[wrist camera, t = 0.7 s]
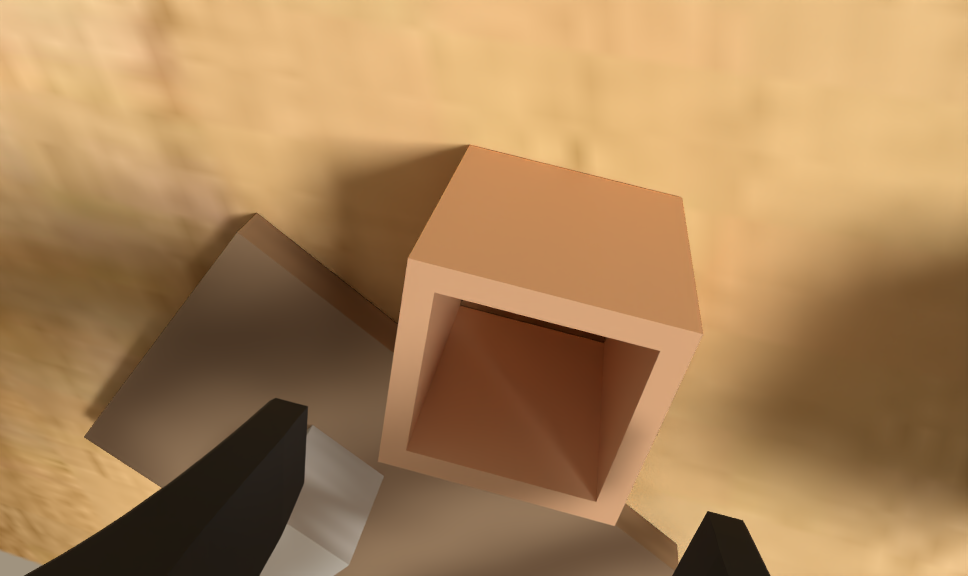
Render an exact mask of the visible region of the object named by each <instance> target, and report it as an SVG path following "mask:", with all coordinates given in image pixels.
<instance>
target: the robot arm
mask: <svg viewBox="0 0 968 576" xmlns="http://www.w3.org/2000/svg"><path fill="white" fill-rule="evenodd" d="M307 418H308V406H305V405H301V404H298V403H294V402H290V401H286V400H282V399H278V398H274V399H272V400H270V401H269V402H268V403H266V404H265V405H264V406H263V407H262V408H261V409H260V410H258V411H257V412H256V413H255V414H254V415H253V416H252V417H250V418H249V419H248V420H247V421H246V422H245V423H244V424H242V425H241V426H240V427H239V428H238V429H236V430H235V431H234V432H233V433H232V434H231V435H229V436H228V437H227V438H226V439H224V440H223V441H222V442H221V443H220V444H218V445H217V446H216V447H215V448H214V449H212V450H211V451H210V452H209V453H207V454H206V455H205V456H203V457H202V458H201V459H200V460H198V461H197V462H196V463H194V464H193V465H192V466H191V467H189V468H188V469H187V470H186V471H184V472H183V473H182V474H180V475H179V476H178V477H176V478H175V479H174V480H173V481H171V482H170V483H168V484H167V485H166V486H164V487H163V488H161V489H160V490H159V491H157V492H156V493H154V494H153V495H152V496H150V497H149V498H147V499H146V500H145V501H143V502H142V503H140V504H139V505H138V506H136V507H135V508H133V509H132V510H131V511H129V512H128V513H126V514H125V515H123V516H122V517H120V518H119V519H117V520H116V521H114V522H113V523H111V524H110V525H108V526H107V527H105V528H104V529H102V530H100V531H99V532H97V533H96V534H94V535H93V536H91V537H89V538H88V539H86V540H85V541H83V542H81V543H80V544H78V545H76V546H75V547H73V548H71V549H70V550H68V551H67V552H65V553H63V554H62V555H60V556H58V557H56V558H55V559H53V560H51V561H49V562H48V563H46V564H44V565H42V566H40V567H39V568H37V569H35V570H33V571H32V572H30V573H28V574H26V575H25V576H260V574H261V572H262V570H263V568H264V567H265V565H266V563H267V561H268V560H269V558H270V556H271V554H272V552H273V551H274V549H275V547H276V545H277V543H278V542H279V540H280V538H281V536H282V534H283V532H284V530H285V527H286V525H287V523H288V520H289V518H290V516H291V514H292V511H293V509H294V506H295V504H296V502H297V499H298V497H299V495H300V492H301V490H302V487H303V485H304V479H305V459H306V438H307ZM672 576H770V574H769V572H768V570H767V568H766V566H765V564H764V562H763V560H762V558H761V556H760V553H759V551H758V549H757V547H756V545H755V543H754V541H753V539H752V537H751V535H750V533H749V531H748V529H747V527H746V525H745V523H744V522H743V520H739V519H736V518H732V517H728V516H724V515H720V514H717V513H713V512H709V511H707V513H706V515H705V517H704V519H703V521H702V522H701V524H700V526H699V528H698V530H697V531H696V533H695V535H694V537H693V539H692V540H691V542H690V544H689V546H688V548H687V550H686V551H685V553H684V555H683V557H682V559H681V560H680V562H679V564H678V566H677V568H676V569H675V571H674V573H673V575H672Z"/></svg>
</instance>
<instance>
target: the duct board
mask: <svg viewBox="0 0 968 576" xmlns="http://www.w3.org/2000/svg"><path fill="white" fill-rule="evenodd" d="M397 329H398V324H397V323H395V322H394V321H393V320H392V319H390V318H389V317H388V316H387V315H385V314H384V313H383V312H381V311H380V310H379V309H378V308H376V307H375V306H374V305H373V304H371V303H370V302H369V301H368V300H366V299H365V298H364V297H362V296H361V295H360V294H359V293H357V292H356V291H355V290H354V289H352V288H351V287H350V286H349V285H347V284H346V283H345V282H343V281H342V280H341V279H340V278H338V277H337V276H336V275H335V274H333V273H332V272H331V271H329V270H328V269H327V268H326V267H324V266H323V265H322V264H321V263H319V262H318V261H317V260H316V259H314V258H313V257H312V256H310V255H309V254H308V253H307V252H305V251H304V250H303V249H302V248H300V247H299V246H298V245H297V244H295V243H294V242H293V241H291V240H290V239H289V238H288V237H286V236H285V235H284V234H283V233H281V232H280V231H279V230H278V229H276V228H275V227H274V226H272V225H271V224H270V223H269V222H267V221H266V220H265V219H264V218H262V217H261V216H260V215H258V214H256V215H255V216H253V217H252V218H251V219H250V220H249V221H248V222H247V223H246V224H245V225H244V226H243V227H242V228H241V229H240V230H239V231H238V232H237V233H236V235H235V236H234V237H233V239H232V240H231V241H230V243H229V244H228V245H227V247H226V248H225V249H224V251H223V252H222V253H221V255H220V256H219V257H218V259H217V260H216V261H215V263H214V264H213V265H212V267H211V268H210V269H209V271H208V272H207V273H206V275H205V276H204V277H203V279H202V280H201V281H200V283H199V284H198V285H197V287H196V288H195V289H194V291H193V292H192V293H191V295H190V296H189V297H188V299H187V300H186V301H185V303H184V304H183V305H182V307H181V308H180V309H179V311H178V312H177V313H176V315H175V316H174V317H173V319H172V320H171V321H170V323H169V324H168V325H167V327H166V328H165V329H164V331H163V332H162V333H161V335H160V336H159V337H158V339H157V340H156V341H155V343H154V344H153V345H152V347H151V348H150V349H149V351H148V352H147V353H146V355H145V356H144V357H143V359H142V360H141V361H140V363H139V364H138V365H137V367H136V368H135V369H134V371H133V372H132V373H131V375H130V376H129V377H128V379H127V380H126V381H125V383H124V384H123V385H122V387H121V388H120V389H119V391H118V392H117V393H116V395H115V396H114V397H113V399H112V400H111V401H110V403H109V404H108V405H107V407H106V408H105V409H104V411H103V412H102V413H101V415H100V416H99V417H98V419H97V420H96V421H95V423H94V424H93V425H92V427H91V428H90V429H89V431H88V432H87V433H86V435H85V436H84V438H86V439H88V440H89V441H91V442H92V443H94V444H95V445H97V446H98V447H100V448H101V449H103V450H104V451H106V452H108V453H109V454H111V455H112V456H114V457H115V458H117V459H118V460H120V461H121V462H123V463H124V464H126V465H128V466H129V467H131V468H132V469H134V470H135V471H137V472H138V473H140V474H141V475H143V476H145V477H146V478H148V479H149V480H151V481H152V482H154V483H155V484H157V485H158V486H160V487H161V488H163V487H164V486H166V485H167V484H168V483H170V482H171V481H173V480H174V479H175V478H176V477H178V476H179V475H180V474H182V473H183V472H184V471H186V470H187V469H188V468H189V467H191V466H192V465H193V464H194V463H196V462H197V461H198V460H200V459H201V458H202V457H203V456H205V455H206V454H207V453H209V452H210V451H211V450H212V449H214V448H215V447H216V446H217V445H218V444H220V443H221V442H222V441H223V440H224V439H226V438H227V437H228V436H229V435H231V434H232V433H233V432H234V431H235V430H236V429H238V428H239V427H240V426H241V425H242V424H244V423H245V422H246V421H247V420H248V419H249V418H250V417H252V416H253V415H254V414H255V413H256V412H257V411H258V410H260V409H261V408H262V407H263V406H264V405H265V404H266V403H268V402H269V401H270V400H272V399H274V398H278V399H282V400H286V401H290V402H294V403H298V404H301V405H305V406H308V418H307V438H306V459H305V479H304V485H303V487H302V490H301V492H300V495H299V497H298V499H297V502H296V504H295V506H294V509H293V511H292V514H291V516H290V518H289V520H288V523H287V525H286V527H285V530H284V532H283V534H282V536H281V538H280V540H279V542H278V543H277V545H276V547H275V549H274V551H273V552H272V554H271V556H270V558H269V560H268V561H267V563H266V565H265V567H264V568H263V570H262V572H261V574H260V576H672V575H673V573H674V571H675V569H676V568H677V566H678V551H677V544H676V543H674V542H673V541H672V540H671V539H669V538H668V537H667V536H665V535H664V534H663V533H662V532H660V531H659V530H658V529H657V528H655V527H654V526H653V525H652V524H650V523H649V522H648V521H646V520H645V519H644V518H643V517H641V516H640V515H639V514H638V513H636V512H635V511H634V510H633V509H631V508H630V507H629V506H627V505H626V504H625V505H624V507H623V509H622V511H621V514H620V516H619V518H618V520H617V522H616V524H615V526H613V525H609V524H605V523H602V522H598V521H594V520H591V519H587V518H583V517H579V516H576V515H572V514H568V513H565V512H561V511H557V510H554V509H550V508H546V507H543V506H539V505H535V504H532V503H528V502H524V501H521V500H517V499H513V498H510V497H506V496H502V495H499V494H495V493H491V492H488V491H484V490H480V489H477V488H473V487H469V486H466V485H462V484H458V483H454V482H451V481H447V480H443V479H440V478H436V477H432V476H429V475H425V474H421V473H418V472H414V471H410V470H407V469H403V468H399V467H396V466H392V465H388V464H385V463H381V462H378V457H379V451H380V444H381V437H382V430H383V423H384V417H385V410H386V403H387V396H388V390H389V383H390V376H391V369H392V363H393V356H394V349H395V342H396V335H397Z"/></svg>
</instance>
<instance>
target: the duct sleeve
mask: <svg viewBox="0 0 968 576" xmlns="http://www.w3.org/2000/svg"><path fill="white" fill-rule="evenodd" d="M461 299H462V300H466V301H469V302H473V303H477V304H481V305H485V306H489V307H493V308H496V309H500V310H504V311H508V312H512V313H516V314H520V315H523V316H527V317H531V318H535V319H539V320H543V321H547V322H550V323H554V324H558V325H562V326H566V327H570V328H574V329H577V330H581V331H585V332H589V333H593V334H597V335H601V336H604V337H606V339H605V342H604V343H602V342H598V341H594V340H591V339H587V338H583V337H579V336H575V335H571V334H567V333H564V332H560V331H556V330H552V329H548V328H544V327H541V326H537V325H533V324H529V323H525V322H521V321H517V320H514V319H510V318H506V317H502V316H498V315H494V314H490V313H487V312H483V311H479V310H475V309H471V308H467V307H464V306H460V304H461ZM702 336H703V329H702V323H701V316H700V310H699V303H698V297H697V290H696V284H695V278H694V271H693V265H692V258H691V252H690V245H689V239H688V233H687V226H686V220H685V213H684V207H683V200H682V198H681V197H677V196H673V195H669V194H665V193H661V192H657V191H653V190H649V189H645V188H641V187H637V186H633V185H629V184H625V183H621V182H617V181H613V180H609V179H605V178H601V177H596V176H592V175H588V174H584V173H580V172H576V171H572V170H568V169H564V168H560V167H556V166H552V165H548V164H544V163H540V162H536V161H532V160H528V159H524V158H520V157H516V156H512V155H508V154H504V153H500V152H496V151H492V150H488V149H484V148H480V147H476V146H472V145H469V147H468V149H467V151H466V153H465V155H464V156H463V158H462V160H461V162H460V164H459V166H458V167H457V169H456V171H455V173H454V175H453V177H452V178H451V180H450V182H449V184H448V186H447V188H446V189H445V191H444V193H443V195H442V197H441V198H440V200H439V202H438V204H437V206H436V208H435V209H434V211H433V213H432V215H431V217H430V219H429V220H428V222H427V224H426V226H425V228H424V230H423V231H422V233H421V235H420V237H419V239H418V241H417V242H416V244H415V246H414V248H413V250H412V252H411V253H410V255H409V257H408V261H407V268H406V274H405V281H404V288H403V295H402V302H401V308H400V315H399V322H398V329H397V335H396V342H395V349H394V356H393V363H392V369H391V376H390V383H389V390H388V396H387V403H386V410H385V417H384V423H383V430H382V437H381V444H380V451H379V457H378V462H381V463H385V464H388V465H392V466H396V467H399V468H403V469H407V470H410V471H414V472H418V473H421V474H425V475H429V476H432V477H436V478H440V479H443V480H447V481H451V482H454V483H458V484H462V485H466V486H469V487H473V488H477V489H480V490H484V491H488V492H491V493H495V494H499V495H502V496H506V497H510V498H513V499H517V500H521V501H524V502H528V503H532V504H535V505H539V506H543V507H546V508H550V509H554V510H557V511H561V512H565V513H568V514H572V515H576V516H579V517H583V518H587V519H591V520H594V521H598V522H602V523H605V524H609V525H613V526H615V524H616V522H617V520H618V518H619V516H620V514H621V511H622V509H623V507H624V505H625V503H626V501H627V498H628V496H629V494H630V492H631V490H632V488H633V485H634V483H635V481H636V479H637V477H638V475H639V472H640V470H641V468H642V466H643V464H644V462H645V459H646V457H647V455H648V453H649V451H650V449H651V446H652V444H653V442H654V440H655V438H656V436H657V433H658V431H659V429H660V427H661V425H662V423H663V420H664V418H665V416H666V414H667V412H668V410H669V407H670V405H671V403H672V401H673V399H674V397H675V394H676V392H677V390H678V388H679V386H680V384H681V381H682V379H683V377H684V375H685V373H686V371H687V368H688V366H689V364H690V362H691V360H692V358H693V356H694V353H695V351H696V349H697V347H698V345H699V343H700V340H701V338H702Z"/></svg>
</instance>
